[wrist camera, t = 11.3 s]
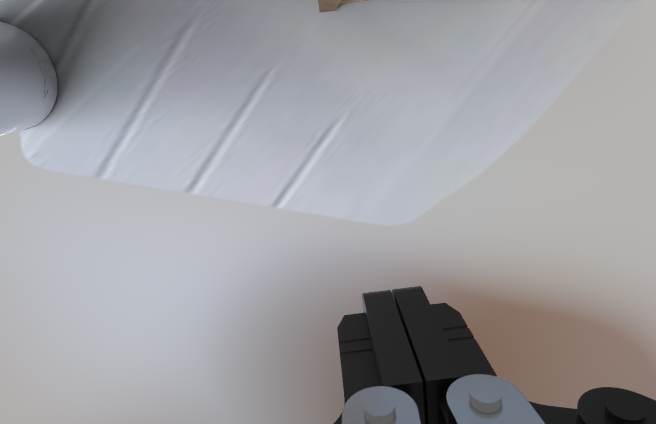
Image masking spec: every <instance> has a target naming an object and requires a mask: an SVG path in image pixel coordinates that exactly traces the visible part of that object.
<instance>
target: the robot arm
mask: <svg viewBox="0 0 656 424" xmlns="http://www.w3.org/2000/svg"><path fill="white" fill-rule="evenodd" d="M56 97H57V77H56V72H55V69H54V67H53V64H52V62H51V59H50V58H49V56H48V55H47V53H46V51H45V50H44V48H43V47H42V46H41V45H40V44H39V43H38V42H37V41H36V40H35V39H34V38H33V37H32V36H30V35H29V34H28V33H26V32H25V31H23V30H21V29H20V28H18V27H16V26H14V25H11V24H7V23H4V22H0V136H1V135H5V134H9V133H13V132H17V131H21V130H24V129H27V128H30V127H33V126H35V125H37V124H38V123H40V122H42V121H43V120H44V119H45V118H46V117H47V116H48V115H49V113H50V112H51V110H52V108H53V106H54V104H55V101H56ZM362 300H363V310H364V313H359V314H351V315H344V317H343V319H342V321H341V323H340V324H339V326H338V339H339V349H340V358H341V367H342V378H343V388H344V397H345V404H344V407H343V411H342V413H341V415H340V417H339V418H338V419H337V421H336V422H335V423H334V424H656V401H655V400H653V399H650V398H648V397H645V396H643V395H641V394H638V393H635V392H632V391H629V390H625V389H620V388H612V387H602V388H595V389H592V390H589V391H587V392H585V393H584V394H583V395H582V396H581V397H580V399H579V401H578V407H577V409H571V408H563V407H554V406H546V405H540V404H536V403H533V402H530V401H528V400H527V399H526V398H525V396H524V395H523V394H522V392H521V391H520V390H519V389H518V388H517V387H516V386H514V385H513V384H512V383H510V382H508V381H506V380H504V379H502V378H499V377H497V375H496V374H495V372H494V370H493V369H492V367H491V365H490V363H489V362H488V360H487V358H486V357H485V355H484V353H483V352H482V350H481V348H480V346H479V345H478V343H477V341H476V340H475V339H474V337H473V335H472V333H471V331H470V329H469V328H467V325H466V323H465V321H464V319H463V318H462V316H461V314H460V313H459V312H458V311H456V310H455V309H453V308H452V307H450V306H449V305H447V304H446V303H440V304H432V305H430V303H429V301H428V299H427V297H426V295H425V293H424V291H423V289H422V287H421V286H418V287H409V288H401V289H393V290H392V292H391V290H386V291H378V292H369V293H363V294H362Z"/></svg>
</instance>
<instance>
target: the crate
mask: <svg viewBox="0 0 656 424" xmlns="http://www.w3.org/2000/svg"><path fill="white" fill-rule="evenodd" d="M318 1H319V10H320V12H327V11H335V10H336V9H337V8H338V6H339V4H342V3H350V2H358V1H366V0H318Z"/></svg>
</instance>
